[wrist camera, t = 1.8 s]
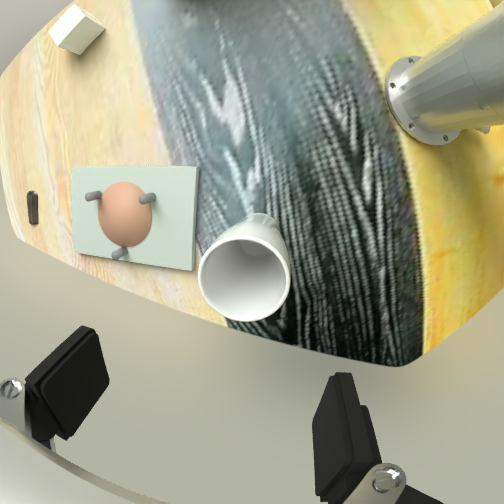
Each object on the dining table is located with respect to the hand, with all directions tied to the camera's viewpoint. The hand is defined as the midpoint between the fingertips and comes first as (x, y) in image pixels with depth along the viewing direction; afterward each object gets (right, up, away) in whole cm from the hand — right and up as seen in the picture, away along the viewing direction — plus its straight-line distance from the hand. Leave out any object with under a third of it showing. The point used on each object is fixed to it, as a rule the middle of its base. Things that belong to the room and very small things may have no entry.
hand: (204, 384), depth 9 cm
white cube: (-25, +40, +17) cm, 51 cm away
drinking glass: (+3, +7, +24) cm, 25 cm away
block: (-37, +13, +27) cm, 48 cm away
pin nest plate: (-15, +10, +25) cm, 31 cm away
